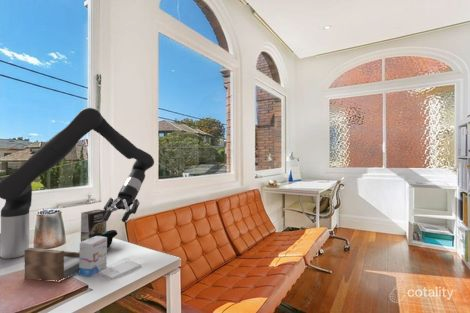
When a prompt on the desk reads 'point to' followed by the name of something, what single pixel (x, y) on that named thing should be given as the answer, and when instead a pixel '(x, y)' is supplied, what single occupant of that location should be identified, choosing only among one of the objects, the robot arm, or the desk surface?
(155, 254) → the desk surface
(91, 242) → the ink box
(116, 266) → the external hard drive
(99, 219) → the coffee box
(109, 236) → the controller
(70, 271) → the brown open tray
